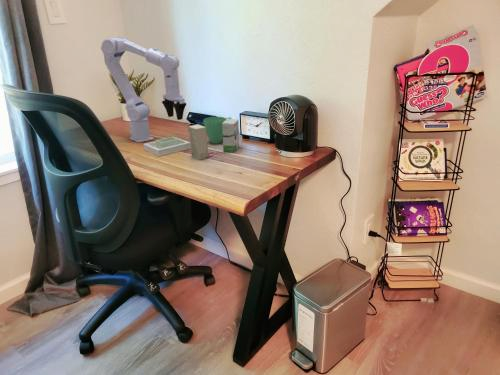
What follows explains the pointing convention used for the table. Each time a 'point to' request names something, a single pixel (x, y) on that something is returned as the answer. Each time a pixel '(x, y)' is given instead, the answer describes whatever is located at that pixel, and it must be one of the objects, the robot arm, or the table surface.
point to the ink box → (230, 135)
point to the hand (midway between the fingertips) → (175, 118)
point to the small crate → (166, 142)
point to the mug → (214, 128)
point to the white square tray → (159, 152)
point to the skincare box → (198, 141)
